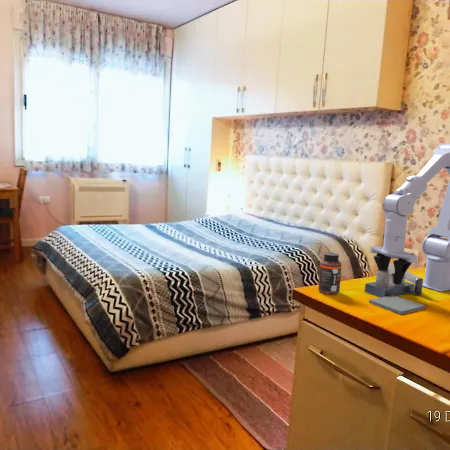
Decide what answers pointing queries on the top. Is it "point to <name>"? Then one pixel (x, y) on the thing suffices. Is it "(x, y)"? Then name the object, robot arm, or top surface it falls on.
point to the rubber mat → (397, 304)
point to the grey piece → (389, 289)
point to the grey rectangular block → (387, 277)
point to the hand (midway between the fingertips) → (390, 281)
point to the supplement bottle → (330, 274)
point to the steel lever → (413, 281)
